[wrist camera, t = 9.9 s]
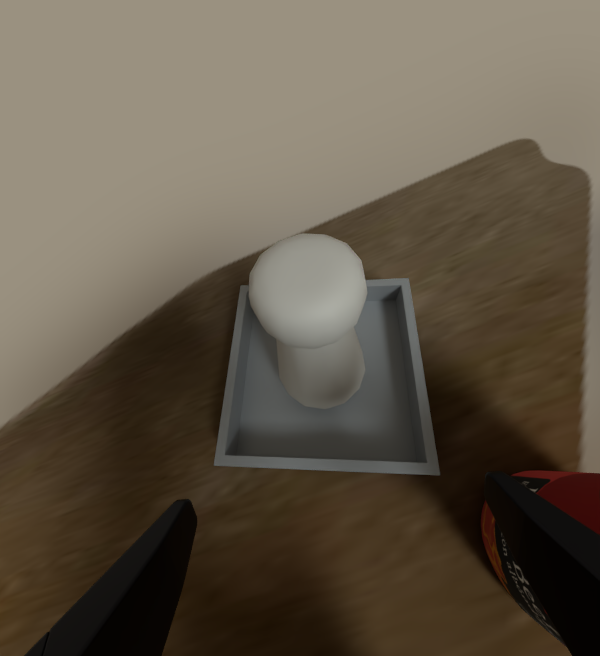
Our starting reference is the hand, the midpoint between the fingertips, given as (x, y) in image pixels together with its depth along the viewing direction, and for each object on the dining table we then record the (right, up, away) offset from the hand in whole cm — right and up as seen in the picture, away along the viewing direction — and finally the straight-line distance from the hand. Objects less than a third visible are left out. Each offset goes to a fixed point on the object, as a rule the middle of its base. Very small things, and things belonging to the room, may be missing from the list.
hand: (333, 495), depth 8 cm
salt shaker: (+1, +2, +13) cm, 13 cm away
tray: (+1, +1, +13) cm, 13 cm away
